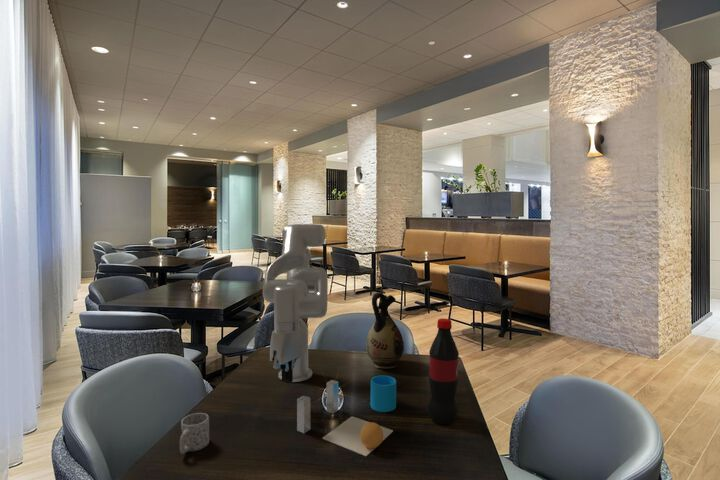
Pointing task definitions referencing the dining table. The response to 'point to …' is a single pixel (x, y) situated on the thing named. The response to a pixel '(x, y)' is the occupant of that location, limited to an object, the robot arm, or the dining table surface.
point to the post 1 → (303, 414)
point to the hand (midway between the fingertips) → (287, 381)
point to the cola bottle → (443, 375)
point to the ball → (371, 435)
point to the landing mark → (352, 435)
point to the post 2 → (332, 396)
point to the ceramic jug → (384, 335)
